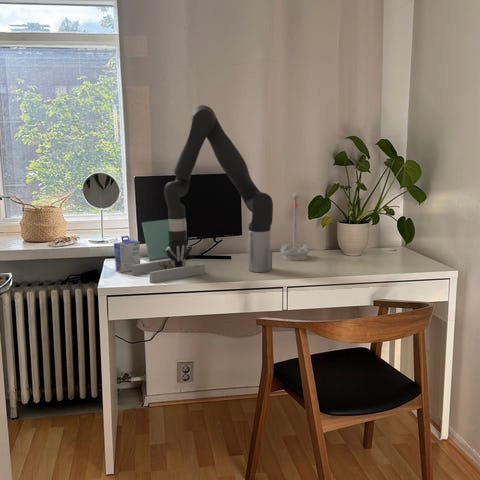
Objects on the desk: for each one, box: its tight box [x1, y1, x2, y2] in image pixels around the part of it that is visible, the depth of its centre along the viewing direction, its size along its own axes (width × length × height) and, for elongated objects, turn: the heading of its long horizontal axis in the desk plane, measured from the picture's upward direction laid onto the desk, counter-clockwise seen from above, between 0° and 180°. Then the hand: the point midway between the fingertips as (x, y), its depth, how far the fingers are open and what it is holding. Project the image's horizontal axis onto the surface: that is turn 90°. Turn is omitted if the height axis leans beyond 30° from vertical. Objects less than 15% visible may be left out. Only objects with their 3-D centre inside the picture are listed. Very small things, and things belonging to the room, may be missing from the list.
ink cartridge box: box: [113, 235, 141, 273], centre depth 265 cm, size 10×6×14 cm, turn 131°
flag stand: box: [280, 192, 310, 261], centre depth 285 cm, size 13×13×30 cm
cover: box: [141, 218, 174, 262], centre depth 267 cm, size 17×17×1 cm
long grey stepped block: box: [131, 258, 206, 284], centre depth 258 cm, size 25×17×4 cm
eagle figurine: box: [159, 260, 174, 269], centre depth 256 cm, size 8×7×9 cm
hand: (179, 269), depth 261 cm, fingers closed
